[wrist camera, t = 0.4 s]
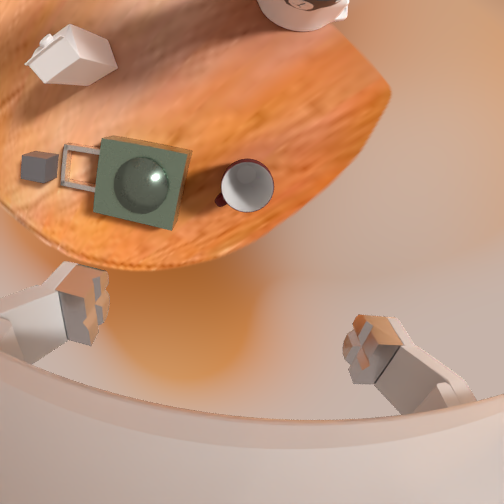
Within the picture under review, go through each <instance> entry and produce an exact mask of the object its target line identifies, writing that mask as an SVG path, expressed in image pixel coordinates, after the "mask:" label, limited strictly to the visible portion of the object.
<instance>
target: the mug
mask: <svg viewBox="0 0 504 504" xmlns="http://www.w3.org/2000/svg"><path fill="white" fill-rule="evenodd" d="M273 192H274V182H273V178H272V175H271V173H270V171H269V170H268V168H267V167H266V166H265V165H264V164H262V163H261V162H259V161H257V160H253V159H241V160H238V161H236V162H234V163H232V164H231V165H230V166H229V167H228V168H227V169H226V171H225V173H224V175H223V177H222V182H221V193H220V194H219V195H218V196H217V197H216V199H215V203H216V205H217V206H219V207H222V206H224V205H226V204H228V205H229V206H230V207H232V208H233V209H235V210H237V211H241V212H254V211H257V210H260V209H261V208H263V207H264V206H266V205H267V204H268V202H269V201H270V199H271V198H272V195H273Z"/></svg>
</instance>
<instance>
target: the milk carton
mask: <svg viewBox="0 0 504 504" xmlns="http://www.w3.org/2000/svg"><path fill="white" fill-rule="evenodd" d="M39 44H40V46H39V47H38V48H37V49H36V50H35V51H34V53H33V56H32V58H31V59H29V60H28V61H27V62H26V63H25V64H24V65H29V67H30V68H31V69H32V70H33V71H34V72H35V73H36V74H37V76H38V77H39V78H40V79H41V80H42V81H43V82H44V83H49V84H68V85H81V86H89V85H91V84H93V83H94V82H96V81H97V80H99V79H101V78H102V77H104V76H106V75H107V74H109V73H111V72H113V71H114V70H116V69H118V67H117V64H116V61H115V58H114V55H113V53H112V50H111V47H110V44H109V41H108V40H107V39H105V38H103V37H101V36H98V35H96V34H94V33H91V32H89V31H87V30H84V29H82V28H79V27H77V26H75V25H72V24H68V25H67V26H66V27H64V28H63V29H61V30H60V31H59V32H57V33H56V34H55V35H53V36H52V35H51V34H48V35H46V36H45V37H44V38H43V39H42V40H41V41H40V43H39Z"/></svg>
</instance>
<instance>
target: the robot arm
mask: <svg viewBox="0 0 504 504" xmlns="http://www.w3.org/2000/svg"><path fill="white" fill-rule="evenodd" d="M257 1H258V4H259V6H260V8H261V10H262V12H263V13H264V14H265V15H266V17H267V18H269V19H270V20H271V21H272V22H274V23H275V24H277V25H279V26H281V27H283V28H286V29H289V30H293V31H313V30H316V29H319V28H321V27H323V26H325V25H327V24H328V23H330V22H335V21H342V20H344V19H345V18H346V17H347V10H348V4H349V1H348V0H257ZM108 283H109V281H108V273H107V272H106V271H105V270H101V269H97V268H93V267H89V266H85V265H81V264H78V263H73V262H69V261H65V262H63V263H62V264H61V265H60V266H59V267H58V268H57V269H56V270H55V271H54V272H53V273H52V274H51V276H49V277H48V278H47V280H46V281H45V282H44V283H43V284H42V285H41V286H39V285H35V286H33V287H30V288H27V289H24V290H22V291H19V292H16V293H13V294H10V295H8V296H5V297H2V298H0V504H504V394H501V395H497V396H494V397H490V398H487V399H483V400H479V401H477V400H476V398H475V396H474V395H473V393H472V391H471V390H470V388H469V387H468V385H467V383H466V382H465V380H464V379H463V378H462V377H460V376H459V375H458V374H456V373H455V372H453V371H452V370H451V369H449V368H448V367H446V366H445V365H444V364H442V363H441V362H440V361H438V360H437V359H435V358H434V357H433V356H431V355H430V354H428V353H427V352H426V351H424V350H423V349H421V348H420V347H418V346H415V345H414V344H413V342H412V340H411V338H410V337H409V335H408V334H407V332H406V330H405V329H404V327H403V326H402V324H401V323H400V321H399V320H398V319H397V318H396V317H385V316H383V317H382V316H370V315H360V314H359V315H358V316H357V317H356V318H355V320H354V322H353V328H354V329H353V330H352V331H351V332H349V333H348V334H347V336H346V338H345V340H344V343H343V356H344V359H345V360H346V361H347V362H348V363H349V364H350V367H349V369H348V370H349V372H350V376H351V378H352V381H353V384H375V385H374V386H375V387H376V388H377V389H378V390H379V391H380V392H381V393H382V394H383V395H384V396H385V397H386V399H387V400H388V401H389V402H390V403H391V404H392V405H393V406H394V407H395V408H396V409H397V410H398V411H399V412H400V414H401V415H396V416H386V417H375V418H363V419H342V420H288V419H268V418H254V417H242V416H232V415H224V414H216V413H215V414H214V413H208V412H202V411H195V410H189V409H183V408H177V407H172V406H167V405H162V404H157V403H152V402H148V401H144V400H139V399H135V398H131V397H127V396H123V395H119V394H115V393H112V392H108V391H105V390H101V389H98V388H95V387H92V386H88V385H85V384H82V383H79V382H76V381H73V380H70V379H68V378H65V377H62V376H59V375H56V374H54V373H51V372H49V371H46V370H43V369H41V368H38V367H36V366H34V365H32V364H33V363H35V362H36V361H38V360H39V359H41V358H42V357H44V356H45V355H47V354H48V353H50V352H52V351H53V350H55V349H56V348H58V347H59V346H61V345H62V344H64V343H65V342H67V340H71V341H75V342H78V343H82V344H86V345H89V346H92V344H93V342H94V340H95V338H96V336H97V334H98V332H99V330H98V325H100V324H102V323H104V321H105V319H106V317H107V314H108V310H109V294H108V292H107V291H106V289H105V288H106V287H107V285H108Z"/></svg>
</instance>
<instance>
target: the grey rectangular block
mask: <svg viewBox="0 0 504 504" xmlns="http://www.w3.org/2000/svg"><path fill="white" fill-rule="evenodd" d="M58 157H59V154H52V153H45V152H39V151H34V152H30V153H27V154H24V155H22V164H21V179H25V180H30V181H35V182H40V183H46V182H48V181H50V180H52V179H55V178H57V168H58Z"/></svg>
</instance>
